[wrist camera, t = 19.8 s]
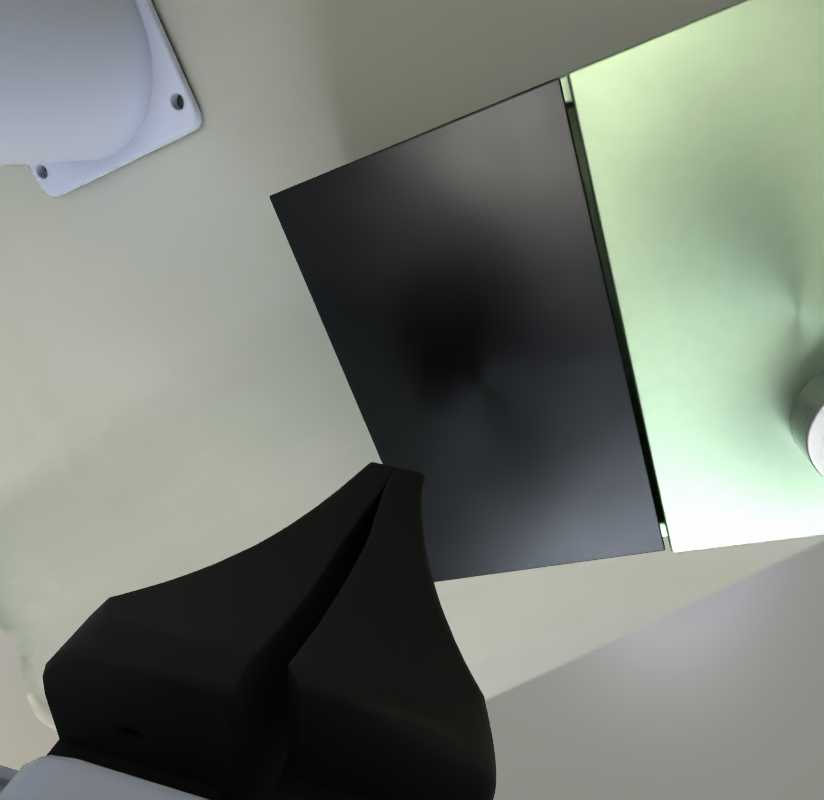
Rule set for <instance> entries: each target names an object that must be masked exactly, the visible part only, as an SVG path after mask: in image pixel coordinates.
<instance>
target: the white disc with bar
mask: <svg viewBox="0 0 824 800" xmlns="http://www.w3.org/2000/svg"><path fill="white" fill-rule="evenodd" d="M790 431H791V435H792V438H793V441H794V442H795V444H796V446H797V447H798V448H799V450H800V451H801V452H802V453H803V455H804V456H805V457H806V458H807V460H808V461H809V462H810V463H811V464H812V466H813V467H814V468H815V469H816V470H817V472H818V473H819V474H821V475H822V476H823V477H824V370H823V371H822V372H821V373H819V374H818V375H817V376H815V377H814V378H813V379H812V380H811V381H810V382H809V383H808V384H807V385H806V386H805V387H804V388H803V389H802V391H801V392H800V394H799V395H798V397H797V398H796V400H795V402H794V404H793V407H792V410H791V414H790Z"/></svg>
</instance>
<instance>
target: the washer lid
mask: <svg viewBox="0 0 824 800" xmlns="http://www.w3.org/2000/svg"><path fill="white" fill-rule="evenodd" d="M270 199H271V202H272V204H273V207H274V209H275V211H276V214H277V216H278V218H279V221H280V223H281V225H282V228H283V230H284V232H285V235H286V237H287V240H288V242H289V244H290V247H291V249H292V251H293V254H294V256H295V258H296V261H297V263H298V265H299V268H300V270H301V272H302V275H303V277H304V280H305V282H306V284H307V287H308V289H309V291H310V294H311V296H312V298H313V301H314V303H315V305H316V308H317V310H318V313H319V315H320V317H321V320H322V322H323V324H324V327H325V329H326V331H327V334H328V336H329V338H330V341H331V343H332V345H333V348H334V350H335V353H336V355H337V357H338V360H339V362H340V364H341V367H342V369H343V371H344V374H345V376H346V378H347V381H348V383H349V386H350V388H351V390H352V393H353V395H354V397H355V400H356V402H357V404H358V407H359V409H360V411H361V414H362V416H363V418H364V421H365V423H366V426H367V428H368V430H369V433H370V435H371V437H372V440H373V442H374V444H375V447H376V449H377V451H378V454H379V456H380V459H381V461H382V463H383V465H388V466H393V467H398V468H403V469H407V470H412V471H417V472H422V474H423V475H424V476H425V485H424V492H423V500H422V507H421V513H422V525H423V534H424V541H425V547H426V552H427V558H428V562H429V567H430V571H431V575H432V578H433V582H437V581H444V580H452V579H459V578H466V577H474V576H481V575H488V574H495V573H503V572H510V571H517V570H524V569H532V568H539V567H546V566H554V565H561V564H568V563H575V562H583V561H590V560H597V559H605V558H612V557H619V556H626V555H634V554H641V553H648V552H656V551H663V550H665V546H664V541H663V537H662V532H661V528H660V523H659V519H658V514H657V510H656V506H655V501H654V497H653V492H652V488H651V483H650V479H649V474H648V470H647V465H646V461H645V456H644V452H643V447H642V443H641V438H640V434H639V429H638V425H637V420H636V416H635V411H634V407H633V402H632V398H631V394H630V389H629V385H628V380H627V376H626V371H625V367H624V362H623V358H622V353H621V349H620V344H619V340H618V335H617V331H616V326H615V322H614V317H613V313H612V308H611V304H610V299H609V295H608V290H607V286H606V282H605V277H604V273H603V268H602V264H601V259H600V255H599V250H598V246H597V241H596V237H595V232H594V228H593V223H592V219H591V214H590V210H589V205H588V201H587V196H586V192H585V187H584V183H583V178H582V174H581V169H580V165H579V161H578V156H577V152H576V147H575V143H574V138H573V134H572V129H571V125H570V120H569V116H568V111H567V107H566V102H565V98H564V93H563V89H562V84H561V80H560V78H555V79H553V80H550V81H548V82H546V83H543V84H541V85H538V86H536V87H533V88H531V89H529V90H526V91H524V92H521V93H519V94H516V95H514V96H512V97H509V98H507V99H504V100H502V101H499V102H497V103H495V104H492V105H490V106H487V107H485V108H482V109H480V110H477V111H475V112H473V113H470V114H468V115H465V116H463V117H460V118H458V119H456V120H453V121H451V122H448V123H446V124H443V125H441V126H439V127H436V128H434V129H431V130H429V131H426V132H424V133H422V134H419V135H417V136H414V137H412V138H409V139H407V140H404V141H402V142H400V143H397V144H395V145H392V146H390V147H387V148H385V149H383V150H380V151H378V152H375V153H373V154H370V155H368V156H366V157H363V158H361V159H358V160H356V161H353V162H351V163H349V164H346V165H344V166H341V167H339V168H336V169H334V170H331V171H329V172H327V173H324V174H322V175H319V176H317V177H314V178H312V179H310V180H307V181H305V182H302V183H300V184H297V185H295V186H293V187H290V188H288V189H285V190H283V191H280V192H278V193H276V194H273V195H271V196H270Z"/></svg>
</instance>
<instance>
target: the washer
mask: <svg viewBox="0 0 824 800" xmlns="http://www.w3.org/2000/svg"><path fill="white" fill-rule="evenodd" d="M557 78H560V80H561V84H562V89H563V93H564V98H565V102H566V107H567V111H568V116H569V120H570V125H571V129H572V134H573V138H574V143H575V147H576V152H577V156H578V161H579V165H580V169H581V174H582V178H583V183H584V187H585V192H586V196H587V201H588V205H589V210H590V214H591V219H592V223H593V228H594V232H595V237H596V241H597V246H598V250H599V255H600V259H601V264H602V268H603V273H604V277H605V282H606V286H607V290H608V295H609V299H610V304H611V308H612V313H613V317H614V322H615V326H616V331H617V335H618V340H619V344H620V349H621V353H622V358H623V362H624V367H625V371H626V376H627V380H628V385H629V389H630V394H631V398H632V402H633V407H634V411H635V416H636V420H637V425H638V429H639V434H640V438H641V443H642V447H643V452H644V456H645V461H646V465H647V470H648V474H649V479H650V483H651V488H652V492H653V497H654V501H655V506H656V510H657V514H658V519H659V523H660V528H661V532H662V537H668V540H669V545H670V548H671V551H672V553H677V552H685V551H694V550H702V549H710V548H718V547H727V546H735V545H743V544H751V543H760V542H768V541H776V540H784V539H793V538H801V537H809V536H817V535H824V477H823V476H822V475H821V474H819V473H818V472H817V470H816V469H815V468H814V467H813V466H812V464H811V463H810V462H809V461H808V460H807V458H806V457H805V456H804V455H803V453H802V452H801V451H800V450H799V448H798V447H797V446H796V444H795V442H794V441H793V438H792V435H791V431H790V414H791V410H792V407H793V404H794V402H795V400H796V398H797V397H798V395H799V394H800V392H801V391H802V389H803V388H804V387H805V386H806V385H807V384H808V383H809V382H810V381H811V380H812V379H813V378H814V377H815V376H817V375H818V374H819V373H821V372H822V371H823V370H824V0H743V1H740V2H738V3H736V4H733V5H731V6H728V7H726V8H723V9H721V10H719V11H716V12H714V13H711V14H709V15H707V16H704V17H702V18H699V19H697V20H694V21H692V22H690V23H687V24H685V25H682V26H680V27H677V28H675V29H673V30H670V31H668V32H665V33H663V34H661V35H658V36H656V37H653V38H651V39H648V40H646V41H644V42H641V43H639V44H636V45H634V46H631V47H629V48H627V49H624V50H622V51H619V52H617V53H614V54H612V55H610V56H607V57H605V58H602V59H600V60H598V61H595V62H593V63H590V64H588V65H585V66H583V67H581V68H578V69H576V70H573V71H571V72H569V73H567V74H564V75H562V76H559V77H557ZM552 80H553V79H552ZM547 82H548V81H547ZM545 83H546V82H545ZM542 84H543V83H542ZM540 85H541V84H540ZM535 87H536V86H535ZM530 89H531V88H530ZM528 90H529V89H528ZM525 91H526V90H525ZM523 92H524V91H523ZM518 94H519V93H518ZM513 96H514V95H513ZM511 97H512V96H511ZM506 99H507V98H506ZM501 101H502V100H501ZM496 103H497V102H496ZM494 104H495V103H494ZM489 106H490V105H489ZM484 108H485V107H484ZM479 110H480V109H479ZM472 113H473V112H472ZM467 115H468V114H467ZM455 120H456V119H455ZM450 122H451V121H450ZM438 127H439V126H438ZM433 129H434V128H433ZM421 134H422V133H421ZM416 136H417V135H416Z"/></svg>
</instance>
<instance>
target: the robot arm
mask: <svg viewBox="0 0 824 800" xmlns="http://www.w3.org/2000/svg"><path fill="white" fill-rule="evenodd" d="M179 95H181V96H182V98H183V100H184V106H183V108H182V109H180V107H179V106H178V103H177V98H178V96H179ZM201 123H202V116H201V112H200V110H199V107H198V105H197V103H196V101H195V98H194V96H193V94H192V92H191V89H190V87H189V85H188V83H187V80H186V78H185V76H184V74H183V71H182V69H181V67H180V65H179V62H178V60H177V58H176V56H175V53H174V51H173V49H172V47H171V44H170V42H169V40H168V38H167V35H166V33H165V31H164V29H163V26H162V24H161V22H160V20H159V17H158V15H157V13H156V11H155V8H154V6H153V4H152V2H151V0H0V166H3V165H19V164H28V166H29V168H30V169H31V171H32V173H33V175H34V177H35V178H36V180H37V182H38V184H39V185H40V187H41V189H42V190H43V191H44V193H46V194H47V195H48V196H51V197H56V196H62V195H64V194H66V193H69V192H71V191H73V190H75V189H77V188H79V187H81V186H83V185H85V184H87V183H89V182H91V181H93V180H95V179H97V178H99V177H101V176H104V175H106V174H108V173H110V172H112V171H114V170H116V169H118V168H120V167H122V166H124V165H126V164H128V163H130V162H132V161H134V160H137V159H139V158H141V157H143V156H145V155H147V154H149V153H151V152H153V151H155V150H157V149H159V148H161V147H163V146H165V145H167V144H169V143H172V142H174V141H176V140H178V139H180V138H182V137H184V136H186V135H188V134H190V133H192V132H194V131H196V130H197V129H198V128H199V127H200V125H201ZM44 167H45V168H46V169H47V172H48V174H47V175H46V174H45V172H44ZM424 485H425V476H424V475H423V474H422V472H417V471H412V470H407V469H403V468H398V467H393V466H388V465H383V464H378V463H373V462H371V463H370V464H368V465H367V466H366V467H364V468H363V469H362V470H361V471H360V472H359V473H358V474H356V475H355V476H354V477H353V478H352V479H351V480H349V481H348V482H347V483H346V484H345V485H343V486H342V487H341V488H340V489H339V490H337V491H336V492H335V493H334V494H332V495H331V496H330V497H328V498H327V499H326V500H325V501H323V502H322V503H321V504H319V505H318V506H317V507H315V508H314V509H313V510H311V511H310V512H308V513H307V514H305V515H304V516H302V517H301V518H299V519H298V520H297V521H295V522H294V523H292V524H291V525H289V526H288V527H286V528H284V529H283V530H281V531H280V532H278V533H276V534H275V535H273V536H271V537H269V538H268V539H266V540H264V541H262V542H260V543H259V544H257V545H255V546H253V547H251V548H249V549H247V550H244V551H242V552H240V553H238V554H236V555H233V556H231V557H229V558H227V559H225V560H223V561H220V562H218V563H216V564H213V565H211V566H208V567H206V568H203V569H201V570H198V571H196V572H193V573H190V574H187V575H184V576H182V577H179V578H176V579H173V580H170V581H167V582H164V583H161V584H157V585H154V586H150V587H147V588H143V589H140V590H136V591H132V592H129V593H125V594H122V595H118V596H114V597H110V598H108V599H107V600H106V601H105V602H104V603H103V604H102V605H101V606H100V607H99V608H98V609H97V610H96V611H95V612H94V613H93V614H92V615H91V616H90V617H89V618H88V619H87V620H86V621H85V622H84V623H83V624H82V625H81V627H80V628H79V629H78V630H77V631H76V632H75V633H74V634H73V635H72V636H71V637H70V639H69V640H68V641H67V642H66V643H65V644H64V645H63V646H62V647H61V648H60V649H59V651H58V652H57V653H56V654H55V655H54V656H53V657H52V658H51V659H50V660H49V661H48V662H47V664H46V666H45V670H44V673H43V683H44V690H45V695H46V698H47V701H48V705H49V708H50V711H51V714H52V717H53V720H54V723H55V726H56V729H57V732H58V735H59V738H60V739H59V741H58V742H57V743H56V744H55V746H54V747H53V748H52V749H51V751H50V752H49V753H48V754H47V756H44V757H40V758H38V759H36V760H34V761H32V762H30V763H27V764H25V765H23V766H22V767H21V769H20V770H19V771H17V770H14V769H10V768H8V767H4V766H1V765H0V800H493V798H494V794H495V788H496V763H495V752H494V745H493V739H492V733H491V728H490V723H489V718H488V713H487V709H486V704H485V699H484V696H483V694H482V692H481V690H480V688H479V687H478V685H477V683H476V681H475V680H474V678H473V676H472V674H471V672H470V670H469V669H468V667H467V665H466V663H465V661H464V659H463V657H462V655H461V653H460V650H459V648H458V646H457V644H456V642H455V640H454V637H453V635H452V632H451V630H450V627H449V625H448V622H447V620H446V618H445V615H444V613H443V610H442V607H441V604H440V601H439V598H438V595H437V592H436V589H435V585H434V582H433V578H432V575H431V571H430V567H429V562H428V558H427V552H426V547H425V541H424V534H423V525H422V513H421V507H422V500H423V492H424Z"/></svg>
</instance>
